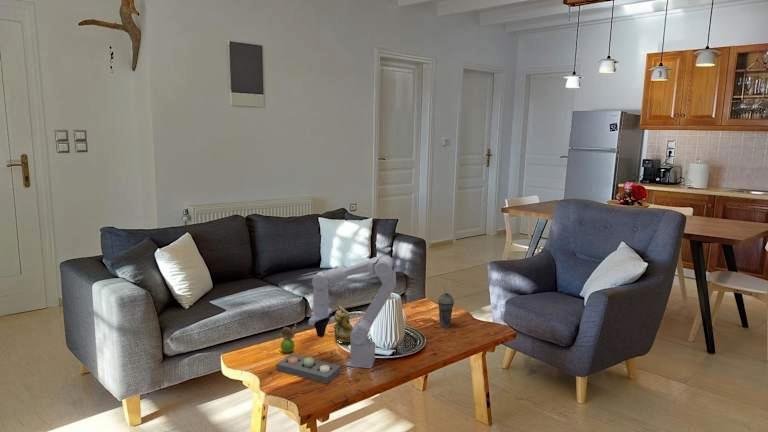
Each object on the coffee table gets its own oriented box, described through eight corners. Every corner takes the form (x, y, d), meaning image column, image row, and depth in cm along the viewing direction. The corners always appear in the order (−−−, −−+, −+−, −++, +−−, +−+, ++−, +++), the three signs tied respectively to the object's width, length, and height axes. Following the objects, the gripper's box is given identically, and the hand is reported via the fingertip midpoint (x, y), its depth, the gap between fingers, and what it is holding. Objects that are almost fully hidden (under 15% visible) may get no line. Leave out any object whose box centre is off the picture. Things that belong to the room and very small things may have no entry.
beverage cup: (453, 329, 244) (455, 287, 240) (437, 328, 244) (439, 286, 240) (451, 323, 251) (454, 282, 247) (436, 322, 251) (438, 281, 247)
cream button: (331, 373, 199) (331, 366, 198) (326, 377, 196) (326, 370, 195) (323, 371, 201) (323, 364, 200) (317, 375, 197) (317, 368, 197)
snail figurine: (293, 355, 214) (293, 327, 211) (278, 353, 215) (278, 325, 213) (298, 349, 219) (298, 322, 217) (283, 348, 220) (283, 320, 218)
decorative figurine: (331, 337, 232) (331, 304, 229) (348, 334, 235) (349, 301, 232) (339, 346, 223) (339, 312, 220) (357, 343, 227) (358, 309, 224)
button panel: (340, 372, 201) (340, 365, 201) (326, 383, 192) (326, 377, 192) (292, 359, 210) (291, 353, 210) (276, 370, 201) (276, 364, 201)
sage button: (315, 365, 202) (315, 358, 201) (310, 369, 198) (310, 362, 198) (307, 363, 203) (307, 356, 203) (301, 367, 200) (301, 360, 199)
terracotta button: (299, 365, 205) (299, 358, 204) (294, 369, 202) (294, 361, 201) (291, 363, 206) (291, 356, 206) (286, 367, 203) (286, 359, 203)
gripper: (321, 295, 214) (321, 327, 217) (301, 307, 201) (301, 341, 204) (337, 298, 212) (336, 331, 214) (317, 310, 199) (317, 344, 201)
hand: (320, 336), depth 209 cm, fingers closed
